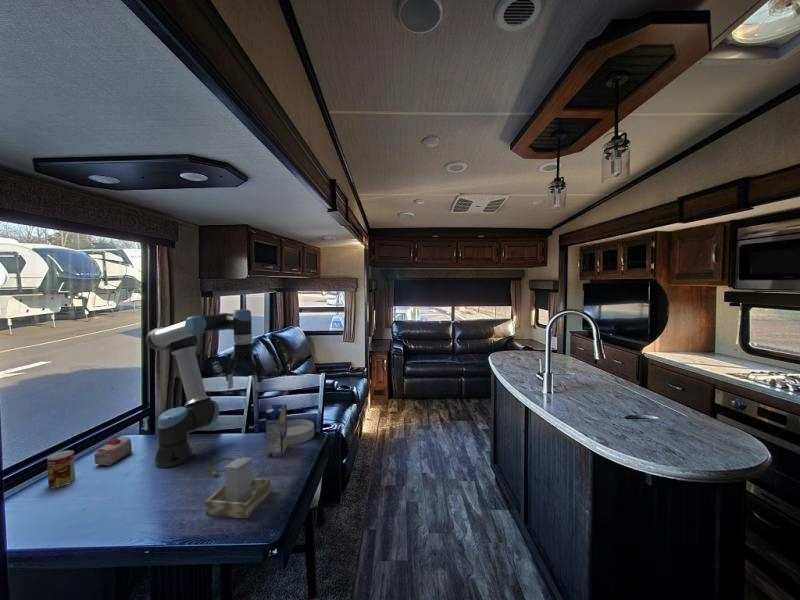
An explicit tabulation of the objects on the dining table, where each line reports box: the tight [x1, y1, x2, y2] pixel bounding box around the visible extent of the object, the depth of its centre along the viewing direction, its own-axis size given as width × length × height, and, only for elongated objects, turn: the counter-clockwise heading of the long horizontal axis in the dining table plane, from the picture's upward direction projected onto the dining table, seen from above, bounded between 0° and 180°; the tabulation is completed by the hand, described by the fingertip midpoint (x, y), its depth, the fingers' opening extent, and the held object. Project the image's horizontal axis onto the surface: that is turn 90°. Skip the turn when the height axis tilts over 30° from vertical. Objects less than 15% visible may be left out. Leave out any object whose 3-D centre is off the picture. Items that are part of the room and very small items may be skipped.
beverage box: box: [265, 404, 288, 459], centre depth 168 cm, size 7×11×22 cm, turn 4°
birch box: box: [205, 477, 271, 519], centre depth 129 cm, size 16×16×5 cm
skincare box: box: [224, 456, 253, 503], centre depth 129 cm, size 8×6×15 cm
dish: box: [287, 418, 315, 446], centre depth 187 cm, size 22×22×5 cm
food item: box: [94, 436, 133, 467], centre depth 161 cm, size 14×8×10 cm, turn 179°
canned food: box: [46, 449, 76, 488], centre depth 142 cm, size 8×8×12 cm
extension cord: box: [207, 457, 235, 478], centre depth 154 cm, size 12×16×2 cm
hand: (244, 388), depth 157 cm, fingers open, 13 cm apart
